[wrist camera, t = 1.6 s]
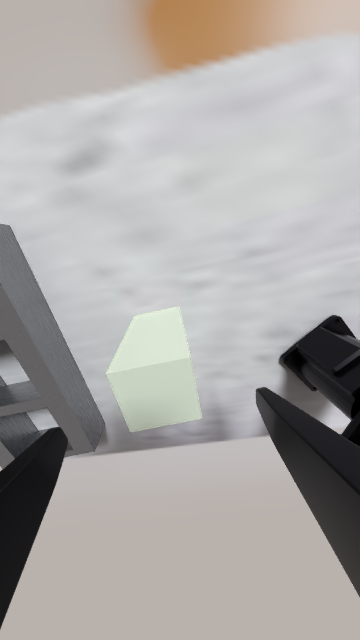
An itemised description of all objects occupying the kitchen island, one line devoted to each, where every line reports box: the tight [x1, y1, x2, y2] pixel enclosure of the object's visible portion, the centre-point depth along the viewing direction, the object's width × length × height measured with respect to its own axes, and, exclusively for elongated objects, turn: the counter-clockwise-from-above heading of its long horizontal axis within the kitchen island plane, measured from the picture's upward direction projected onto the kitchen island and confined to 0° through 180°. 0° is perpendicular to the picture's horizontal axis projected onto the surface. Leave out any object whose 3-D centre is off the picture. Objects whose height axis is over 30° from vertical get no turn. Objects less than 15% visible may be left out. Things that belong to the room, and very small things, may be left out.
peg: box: [106, 307, 203, 433], centre depth 13 cm, size 4×4×8 cm
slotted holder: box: [0, 224, 105, 469], centre depth 15 cm, size 20×9×3 cm, turn 10°
